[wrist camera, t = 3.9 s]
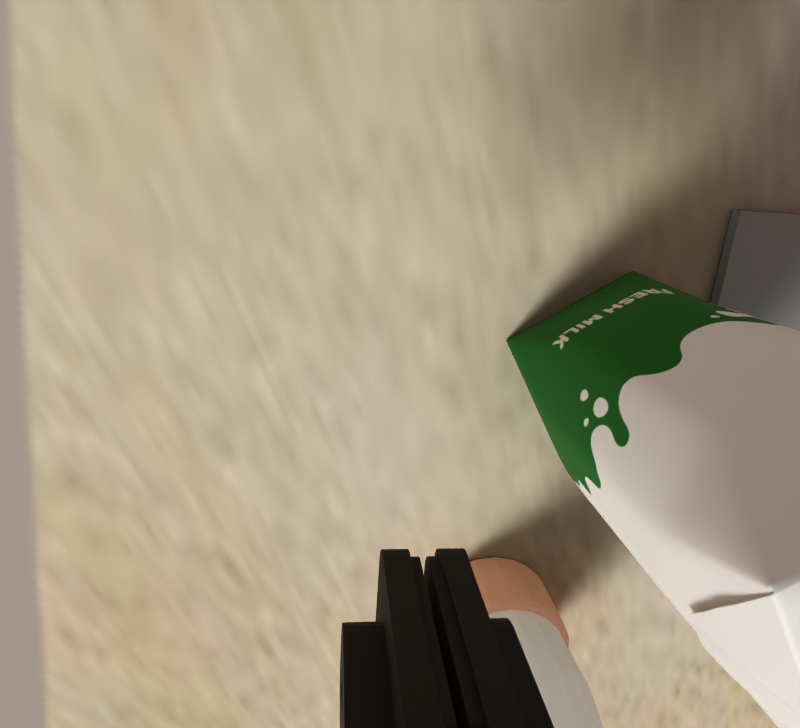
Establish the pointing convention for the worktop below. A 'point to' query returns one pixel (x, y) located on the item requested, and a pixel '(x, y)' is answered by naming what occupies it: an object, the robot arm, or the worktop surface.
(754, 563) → the soya milk
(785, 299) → the mat
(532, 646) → the pepper shaker
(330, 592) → the worktop surface
